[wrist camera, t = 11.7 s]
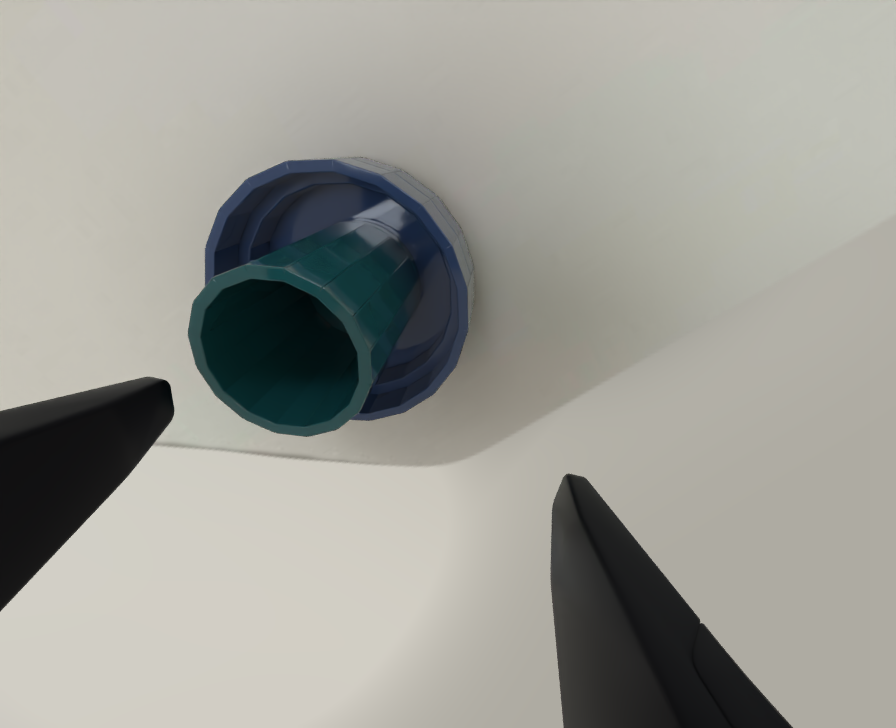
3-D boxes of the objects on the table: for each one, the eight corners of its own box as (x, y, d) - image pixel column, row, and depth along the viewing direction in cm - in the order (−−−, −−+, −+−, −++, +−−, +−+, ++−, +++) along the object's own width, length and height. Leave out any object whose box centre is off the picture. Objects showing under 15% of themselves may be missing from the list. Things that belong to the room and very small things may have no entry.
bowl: (503, 348, 21) (502, 389, 17) (320, 397, 24) (287, 441, 20) (426, 115, 17) (404, 106, 13) (215, 208, 19) (151, 221, 16)
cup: (438, 320, 20) (399, 415, 13) (336, 350, 21) (251, 451, 14) (392, 201, 18) (315, 237, 11) (282, 244, 19) (150, 300, 12)
